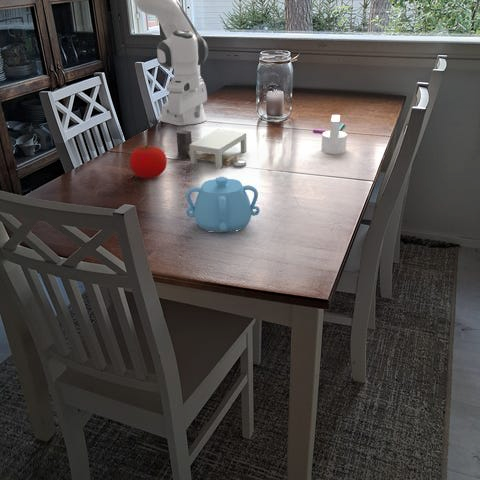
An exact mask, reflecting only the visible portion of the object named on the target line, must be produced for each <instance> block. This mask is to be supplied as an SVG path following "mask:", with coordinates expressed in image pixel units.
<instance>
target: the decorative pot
mask: <svg viewBox="0 0 480 480" xmlns="http://www.w3.org/2000/svg"><path fill="white" fill-rule="evenodd" d="M247 191H251V192H253V199H252V201H250V199H249V196H248V195H249V194H248V193H247ZM194 192H195V193H196V192H198V193H197V196H196V199H195V203H193V201H192V198H191V194H192V193H194ZM258 197H259V192H258V190H257V188H255V187H254V186H252V185H249V184H248V185H247V184H246V185H243V184H242V181H240V180H238V179H234V178H228V177H225V176H218V177H216V178H215V179H209V180H206V181H204V182H203V183H202V185H201V187H200V186H199V187H198V186H195V187H191V188H190V189H188V190H187V192H186V197H185V198H186V201H187V203H188V204H187V205H188V206H189V207H188V208H187V209H186V210H185V213H186V214H185V215H186V216H187V217H189V218H194V220H195V222H196V224H197V225H198V226H199V228H201V229H202V230H204V231H206V232H207V231H214V232H213V233H215V232H216V233H224V232H225V233H227V232H233V231H236V230H239V229H240V230H242V229H244V228H246V226H247V225H248V224H249V223H250V221H251V218H252V217H253V216H258V215H259V214H260V212H261V211H260V207H259V206H257V205H256V203H257V200H258V199H259V198H258ZM254 210H256V211H254ZM190 211H192V212H190ZM240 230H239V231H240Z"/></svg>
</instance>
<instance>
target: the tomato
mask: <svg viewBox="0 0 480 480" xmlns="http://www.w3.org/2000/svg"><path fill="white" fill-rule="evenodd" d="M167 161H168V159H167V155H166V154H165V152H164V151H163V150H162V148H160V147H158V146H157V147H156V146H152V145H149V144H147V145H142V146H139V147H136V148H135V149H134V150H133V151H132V153H131V155H130V157H129V166H130V170H132V172H133V174H135V175H136V176H137V177H140V178H141V179H155V178H157V177H158V176H160V175H162V174H163V173H164V171H165V169H166V168H167V164H168V162H167Z"/></svg>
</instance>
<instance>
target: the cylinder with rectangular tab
mask: <svg viewBox="0 0 480 480" xmlns="http://www.w3.org/2000/svg"><path fill="white" fill-rule="evenodd" d="M340 120H341V115H340V114H332V115H331V119H330V129H329V130H325V131H326V132H323V133H321V151H322V152H323V153H326V154H330V155H338V154H339V155H340V154H343V153H345V152H346V150H347V138H348V134H347V133H346V132H345V131H341V130H340V131H339V127H340V126H341V124H340V122H341V121H340Z"/></svg>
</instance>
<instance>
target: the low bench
mask: <svg viewBox="0 0 480 480" xmlns="http://www.w3.org/2000/svg"><path fill="white" fill-rule="evenodd" d="M239 143H240V152H242V153H246V152H247V132H244V131H235V130H227V129H223V128H222V129H220V128H216V130H214V131H211V132H210V133H207V135H204V136H203V137H200V138H198V139H196V140H195V141H192V143H191V144H189V145H190V157H189V158H190V159H189V160H190V164H191V165H193V164H194V165H195V164H197V163H198V159H197V155H196V151H197V152H203V153H209V154H215V159H216V162H215V168H216V169H222V167H223V163H222V156H223V155H222V154H223V153H226V151H228V150H229V149H231V148H232V147H234V146H236V145H237V144H239Z"/></svg>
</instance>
